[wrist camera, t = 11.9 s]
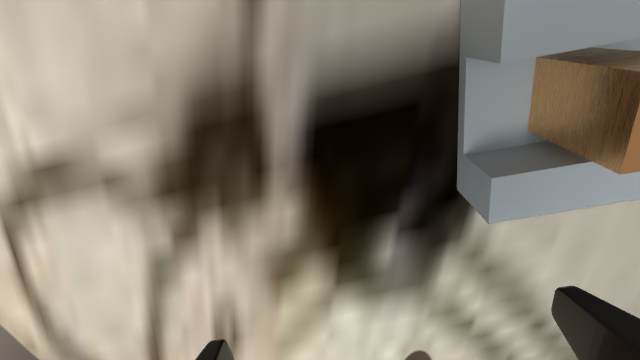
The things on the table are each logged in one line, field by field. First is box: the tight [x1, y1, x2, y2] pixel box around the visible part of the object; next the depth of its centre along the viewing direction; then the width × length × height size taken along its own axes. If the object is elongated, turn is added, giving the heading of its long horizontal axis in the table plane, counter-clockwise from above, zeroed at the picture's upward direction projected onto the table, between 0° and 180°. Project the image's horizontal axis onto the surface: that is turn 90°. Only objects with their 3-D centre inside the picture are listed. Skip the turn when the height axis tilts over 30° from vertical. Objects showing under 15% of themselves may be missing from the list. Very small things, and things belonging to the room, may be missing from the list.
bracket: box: [457, 0, 640, 224], centre depth 16 cm, size 11×10×4 cm
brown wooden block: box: [527, 47, 640, 175], centre depth 15 cm, size 4×3×6 cm
